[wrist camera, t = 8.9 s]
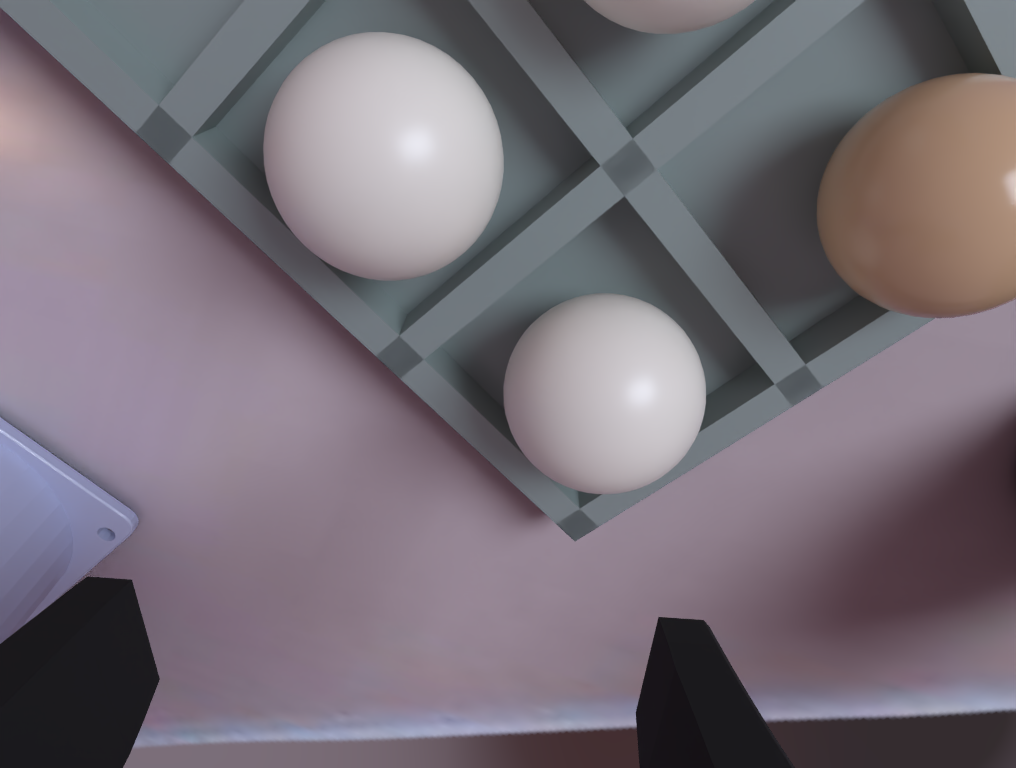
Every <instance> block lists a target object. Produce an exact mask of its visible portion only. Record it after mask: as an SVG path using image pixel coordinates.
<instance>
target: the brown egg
mask: <svg viewBox="0 0 1016 768" xmlns="http://www.w3.org/2000/svg"><path fill="white" fill-rule="evenodd" d="M816 215H817V226H818V232H819V236H820V241H821V244H822V247H823V249H824V251H825V254H826V256H827V258H828V260H829V262H830V263H831V265H832V266H833V268H834V270H835V271H836V273H837V274H838V275H839V276H840V277H841V278H842V279H843V280H844V281H845V282H846V283H847V285H848V286H849V287H850V288H851V289H853V290H854V291H855V292H857V293H858V294H859V295H861V296H862V297H864V298H865V299H867V300H869V301H871V302H872V303H874V304H876V305H878V306H880V307H882V308H885V309H888V310H890V311H893V312H897V313H900V314H905V315H909V316H914V317H923V318H954V317H960V316H967V315H972V314H977V313H980V312H984V311H987V310H991V309H994V308H996V307H999V306H1001V305H1003V304H1006V303H1008V302H1010V301H1013V300H1015V299H1016V78H1012V77H1008V76H1004V75H996V74H985V73H963V74H954V75H948V76H943V77H937V78H933V79H930V80H927V81H924V82H921V83H918V84H915V85H913V86H910V87H908V88H906V89H904V90H902V91H900V92H898V93H896V94H894V95H892V96H890V97H888V98H887V99H885V100H884V101H882V102H881V103H880V104H878V105H877V106H875V107H874V108H873V109H871V110H870V111H868V112H867V113H866V114H865V115H864V116H863V117H862V118H861V119H860V120H859V121H858V122H857V123H856V124H855V125H854V126H853V127H852V128H851V129H850V130H849V131H848V132H847V134H846V135H845V136H844V137H843V138H842V140H841V141H840V143H839V144H838V146H837V147H836V149H835V151H834V152H833V154H832V156H831V158H830V160H829V162H828V164H827V166H826V168H825V171H824V173H823V176H822V179H821V183H820V187H819V191H818V197H817V214H816Z"/></svg>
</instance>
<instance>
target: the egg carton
mask: <svg viewBox="0 0 1016 768" xmlns="http://www.w3.org/2000/svg"><path fill="white" fill-rule="evenodd" d="M0 8H1V9H3V10H4V11H5V12H6V13H7V14H8V15H9V16H10V17H11V18H12V19H13V20H14V21H15V22H17V23H18V24H19V25H20V26H21V27H22V28H23V29H24V30H25V31H26V32H27V33H28V34H29V35H31V36H32V37H33V38H34V39H35V40H36V41H37V42H38V43H39V44H40V45H41V46H42V47H43V48H45V49H46V50H47V51H48V52H49V53H50V54H51V55H52V56H53V57H54V58H55V59H56V60H57V61H59V62H60V63H61V64H62V65H63V66H64V67H65V68H66V69H67V70H68V71H69V72H70V73H71V74H72V75H74V76H75V77H76V78H77V79H78V80H79V81H80V82H81V83H82V84H83V85H84V86H85V87H86V88H88V89H89V90H90V91H91V92H92V93H93V94H94V95H95V96H96V97H97V98H98V99H99V100H100V101H102V102H103V103H104V104H105V105H106V106H107V107H108V108H109V109H110V110H111V111H112V112H113V113H114V114H116V115H117V116H118V117H119V118H120V119H121V120H122V121H123V122H124V123H125V124H126V125H127V126H128V127H130V128H131V129H132V130H133V131H134V132H135V133H136V134H137V135H138V136H139V137H140V138H141V139H142V140H144V141H145V142H146V143H147V144H148V145H149V146H150V147H151V148H152V149H153V150H154V151H155V152H156V153H158V154H159V155H160V156H161V157H162V158H163V159H164V160H165V161H166V162H167V163H168V164H169V165H170V166H172V167H173V168H174V169H175V170H176V171H177V172H178V173H179V174H180V175H181V176H182V177H183V178H184V179H186V180H187V181H188V182H189V183H190V184H191V185H192V186H193V187H194V188H195V189H196V190H197V191H198V192H199V193H201V194H202V195H203V196H204V197H205V198H206V199H207V200H208V201H209V202H210V203H211V204H212V205H213V206H215V207H216V208H217V209H218V210H219V211H220V212H221V213H222V214H223V215H224V216H225V217H226V218H227V219H229V220H230V221H231V222H232V223H233V224H234V225H235V226H236V227H237V228H238V229H239V230H240V231H241V232H243V233H244V234H245V235H246V236H247V237H248V238H249V239H250V240H251V241H252V242H253V243H254V244H255V245H257V246H258V247H259V248H260V249H261V250H262V251H263V252H264V253H265V254H266V255H267V256H268V257H269V258H271V259H272V260H273V261H274V262H275V263H276V264H277V265H278V266H279V267H280V268H281V269H282V270H283V271H285V272H286V273H287V274H288V275H289V276H290V277H291V278H292V279H293V280H294V281H295V282H296V283H297V284H299V285H300V286H301V287H302V288H303V289H304V290H305V291H306V292H307V293H308V294H309V295H310V296H311V297H312V298H314V299H315V300H316V301H317V302H318V303H319V304H320V305H321V306H322V307H323V308H324V309H325V310H326V311H328V312H329V313H330V314H331V315H332V316H333V317H334V318H335V319H336V320H337V321H338V322H339V323H340V324H342V325H343V326H344V327H345V328H346V329H347V330H348V331H349V332H350V333H351V334H352V335H353V336H354V337H356V338H357V339H358V340H359V341H360V342H361V343H362V344H363V345H364V346H365V347H366V348H367V349H368V350H370V351H371V352H372V353H373V354H374V355H375V356H376V357H377V358H378V359H379V360H380V361H381V362H382V363H384V364H385V365H386V366H387V367H388V368H389V369H390V370H391V371H392V372H393V373H394V374H395V375H396V376H398V377H399V378H400V379H401V380H402V381H403V382H404V383H405V384H406V385H407V386H408V387H409V388H410V389H412V390H413V391H414V392H415V393H416V394H417V395H418V396H419V397H420V398H421V399H422V400H423V401H424V402H425V403H427V404H428V405H429V406H430V407H431V408H432V409H433V410H434V411H435V412H436V413H437V414H438V415H439V416H441V417H442V418H443V419H444V420H445V421H446V422H447V423H448V424H449V425H450V426H451V427H452V428H453V429H455V430H456V431H457V432H458V433H459V434H460V435H461V436H462V437H463V438H464V439H465V440H466V441H467V442H469V443H470V444H471V445H472V446H473V447H474V448H475V449H476V450H477V451H478V452H479V453H480V454H481V455H483V456H484V457H485V458H486V459H487V460H488V461H489V462H490V463H491V464H492V465H493V466H494V467H495V468H497V469H498V470H499V471H500V472H501V473H502V474H503V475H504V476H505V477H506V478H507V479H508V480H509V481H511V482H512V483H513V484H514V485H515V486H516V487H517V488H518V489H519V490H520V491H521V492H522V493H523V494H525V495H526V496H527V497H528V498H529V499H530V500H531V501H532V502H533V503H534V504H535V505H536V506H537V507H539V508H540V509H541V510H542V511H543V512H544V513H545V514H546V515H547V516H548V517H549V518H550V519H551V520H552V521H554V522H555V523H556V524H557V525H558V526H559V527H560V528H561V529H562V530H563V531H564V532H565V533H566V534H568V535H569V536H570V537H571V538H572V539H573V540H574V541H576V540H578V539H580V538H581V537H583V536H585V535H586V534H588V533H589V532H591V531H593V530H594V529H596V528H597V527H599V526H601V525H602V524H604V523H606V522H607V521H609V520H610V519H612V518H614V517H615V516H617V515H618V514H620V513H622V512H623V511H625V510H626V509H628V508H630V507H631V506H633V505H635V504H636V503H638V502H639V501H641V500H643V499H644V498H646V497H647V496H649V495H651V494H652V493H654V492H656V491H657V490H659V489H660V488H662V487H664V486H665V485H667V484H668V483H670V482H672V481H673V480H675V479H677V478H678V477H680V476H681V475H683V474H685V473H686V472H688V471H689V470H691V469H693V468H694V467H696V466H697V465H699V464H701V463H702V462H704V461H706V460H707V459H709V458H710V457H712V456H714V455H715V454H717V453H718V452H720V451H722V450H723V449H725V448H727V447H728V446H730V445H731V444H733V443H735V442H736V441H738V440H739V439H741V438H743V437H744V436H746V435H748V434H749V433H751V432H752V431H754V430H756V429H757V428H759V427H760V426H762V425H764V424H765V423H767V422H769V421H770V420H772V419H773V418H775V417H777V416H778V415H780V414H781V413H783V412H785V411H786V410H788V409H789V408H791V407H793V406H794V405H796V404H798V403H799V402H801V401H802V400H804V399H806V398H807V397H809V396H810V395H812V394H814V393H815V392H817V391H819V390H820V389H822V388H823V387H825V386H827V385H828V384H830V383H831V382H833V381H835V380H836V379H838V378H840V377H841V376H843V375H844V374H846V373H848V372H849V371H851V370H852V369H854V368H856V367H857V366H859V365H860V364H862V363H864V362H865V361H867V360H869V359H870V358H872V357H873V356H875V355H877V354H878V353H880V352H881V351H883V350H885V349H886V348H888V347H890V346H891V345H893V344H894V343H896V342H898V341H899V340H901V339H902V338H904V337H906V336H907V335H909V334H911V333H912V332H914V331H915V330H917V329H919V328H920V327H922V326H923V325H925V324H927V323H928V322H930V321H932V320H933V319H935V318H923V317H914V316H909V315H905V314H900V313H897V312H893V311H890V310H888V309H885V308H882V307H880V306H878V305H876V304H874V303H872V302H871V301H869V300H867V299H865V298H864V297H862V296H861V295H859V294H858V293H857V292H855V291H854V290H853V289H851V288H850V287H849V286H848V285H847V283H846V282H845V281H844V280H843V279H842V278H841V277H840V276H839V275H838V274H837V273H836V271H835V270H834V268H833V266H832V265H831V263H830V262H829V260H828V258H827V256H826V254H825V251H824V249H823V247H822V244H821V241H820V236H819V232H818V226H817V215H816V214H817V197H818V191H819V187H820V183H821V179H822V176H823V173H824V171H825V168H826V166H827V164H828V162H829V160H830V158H831V156H832V154H833V152H834V151H835V149H836V147H837V146H838V144H839V143H840V141H841V140H842V138H843V137H844V136H845V135H846V134H847V132H848V131H849V130H850V129H851V128H852V127H853V126H854V125H855V124H856V123H857V122H858V121H859V120H860V119H861V118H862V117H863V116H864V115H865V114H866V113H867V112H868V111H870V110H871V109H873V108H874V107H875V106H877V105H878V104H880V103H881V102H882V101H884V100H885V99H887V98H888V97H890V96H892V95H894V94H896V93H898V92H900V91H902V90H904V89H906V88H908V87H910V86H913V85H915V84H918V83H921V82H924V81H927V80H930V79H933V78H937V77H943V76H948V75H954V74H963V73H985V74H996V75H1004V76H1008V77H1012V78H1016V0H0Z"/></svg>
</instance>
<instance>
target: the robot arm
mask: <svg viewBox="0 0 1016 768" xmlns="http://www.w3.org/2000/svg"><path fill="white" fill-rule="evenodd" d="M137 526H138V518H137V516H136V514H135V513H134V512H133V511H132V510H131V509H130V508H128V507H127V506H125V505H124V504H122V503H121V502H120V501H118V500H117V499H115V498H114V497H113V496H111V495H110V494H108V493H107V492H105V491H104V490H103V489H101V488H100V487H98V486H97V485H96V484H94V483H93V482H91V481H90V480H88V479H87V478H86V477H84V476H83V475H81V474H80V473H79V472H77V471H76V470H74V469H73V468H71V467H70V466H69V465H67V464H66V463H64V462H63V461H62V460H60V459H59V458H57V457H56V456H54V455H53V454H52V453H50V452H49V451H47V450H46V449H45V448H43V447H42V446H40V445H39V444H37V443H36V442H35V441H33V440H32V439H30V438H29V437H28V436H26V435H25V434H23V433H22V432H20V431H19V430H18V429H16V428H15V427H13V426H12V425H11V424H9V423H8V422H6V421H5V420H3V419H2V418H1V417H0V768H123V766H124V764H125V762H126V760H127V758H128V757H129V754H130V752H131V750H132V747H133V745H134V743H135V740H136V738H137V735H138V733H139V731H140V728H141V726H142V723H143V721H144V718H145V716H146V713H147V711H148V708H149V706H150V703H151V700H152V698H153V695H154V693H155V690H156V687H157V685H158V682H159V680H160V679H159V675H158V672H157V668H156V664H155V661H154V657H153V654H152V650H151V647H150V643H149V639H148V636H147V632H146V629H145V625H144V622H143V618H142V614H141V611H140V607H139V604H138V600H137V596H136V593H135V589H134V586H133V582H132V580H127V579H113V578H99V577H86V578H85V579H84V580H82V581H81V582H80V583H78V584H77V585H76V586H74V587H73V588H72V589H70V590H69V591H68V592H66V591H67V590H68V589H69V588H70V587H72V586H73V585H74V584H75V583H76V582H77V581H79V580H80V579H81V578H82V577H83V576H84V575H85V574H87V573H88V572H89V571H90V570H91V569H92V568H93V567H95V566H96V565H97V564H98V563H99V562H100V561H102V560H103V559H104V558H105V557H106V556H107V555H108V554H110V553H111V552H112V551H113V550H114V549H115V548H116V547H118V546H119V545H120V544H121V543H122V542H123V541H125V540H126V539H127V538H128V537H129V536H130V535H131V534H132V533H133V531H134V530H135V529H136V527H137ZM107 528H108V529H110V530H112V531H113V532H112V531H110V530H108V529H107ZM65 592H66V593H65ZM64 593H65V594H64ZM62 594H64V595H62ZM61 595H62V596H61ZM60 596H61V597H60ZM59 597H60V598H59ZM54 601H55V602H54ZM636 722H637V735H638V750H639V763H640V768H795V767H794V766H793V764H792V763H791V761H790V760H789V758H788V757H787V755H786V754H785V752H784V750H783V749H782V748H781V746H780V745H779V743H778V741H777V740H776V738H775V737H774V735H773V733H772V732H771V730H770V729H769V727H768V726H767V724H766V722H765V721H764V719H763V718H762V716H761V714H760V713H759V711H758V709H757V708H756V706H755V704H754V703H753V701H752V700H751V698H750V696H749V695H748V693H747V691H746V690H745V688H744V686H743V685H742V683H741V681H740V680H739V678H738V676H737V674H736V673H735V671H734V669H733V668H732V666H731V664H730V662H729V661H728V659H727V657H726V655H725V654H724V652H723V650H722V648H721V647H720V645H719V643H718V641H717V640H716V638H715V636H714V634H713V632H712V630H711V629H710V627H709V626H708V625H707V624H706V622H705V621H704V620H694V619H679V618H665V617H659V618H658V622H657V626H656V631H655V635H654V639H653V643H652V647H651V651H650V656H649V660H648V664H647V668H646V672H645V677H644V681H643V685H642V689H641V693H640V698H639V702H638V706H637V710H636Z"/></svg>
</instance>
